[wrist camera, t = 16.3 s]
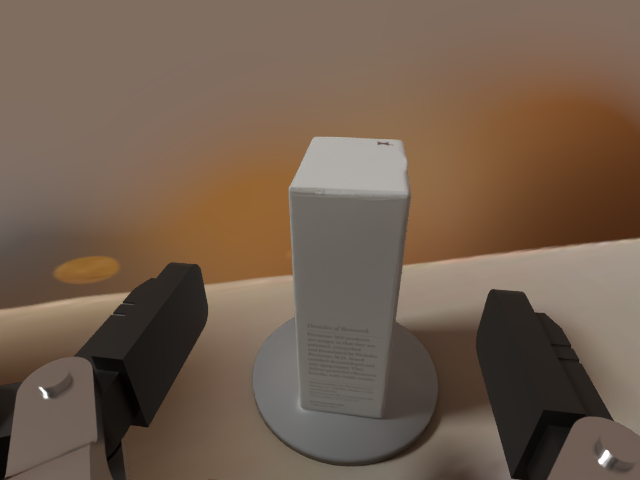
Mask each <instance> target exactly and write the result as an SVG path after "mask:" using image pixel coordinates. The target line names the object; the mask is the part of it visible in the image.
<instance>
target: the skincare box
mask: <svg viewBox="0 0 640 480" xmlns="http://www.w3.org/2000/svg"><path fill="white" fill-rule="evenodd" d="M410 199H411V192H410V185H409V178H408V161H407V158H406V155H405V150H404V145H403V142H402V141H400V140H388V139H366V138H344V137H314V138H313V140H312V142H311V144H310V146H309V148H308V150H307V152H306V154H305V156H304V158H303V161H302V163H301V165H300V168H299V169H298V172H297V174H296V176H295V178H294V180H293V182H292V184H291V185H290V187H289V203H290V204H289V206H290V225H291V244H292V266H293V285H294V305H295V324H296V341H297V360H298V379H299V395H300V407H301V408H302V409H304V410H311V411H320V412H329V413H338V414H346V415H354V416H362V417H370V418H379V419H381V418H382V417H383V415H384V409H385V401H386V392H387V384H388V376H389V368H390V360H391V352H392V344H393V336H394V329H395V321H396V313H397V305H398V297H399V289H400V282H401V274H402V265H403V257H404V248H405V240H406V232H407V223H408V215H409V207H410Z"/></svg>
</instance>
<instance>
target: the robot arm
mask: <svg viewBox="0 0 640 480" xmlns="http://www.w3.org/2000/svg"><path fill="white" fill-rule="evenodd" d="M207 316H208V304H207V299H206V293H205V288H204V283H203V278H202V273H201V269H200V267H199V266H198V265H197V264H186V263H173V262H172V263H169V264H168V265H167V266H166V267H165V269H164V270H163V271H162V272H161V273H160V274H159V276H158V277H157V278H156V279H155V278H151V279H149V280H147V281H146V282H144V283H143V284H141V285H140V286H138V287H137V288H135V289H134V290H133V291H132V292H131V293H130V294H129V295H128V296H127V298H126V299H125V300H124V301H123V304H120V305H119V307H118V308H117V309H116V310H115V311H114V312H113V315H111V316H110V317H109V318H108V319H107V320H106V321H105V322H104V323H103V325H102V326H101V327H100V328H99V329H98V330H97V331H96V332H95V334H94V335H93V336H92V337H91V338H90V339H89V340H88V341H87V343H86V344H85V345H84V346H83V347H82V348H81V349H80V350H79V352H78V353H77V354H76V355H75V356H74V357H66V358H61V359H57V360H55V361H52V362H49V363H47V364H45V365H43V366H42V367H40V368H38V369H37V370H36V371H34V372H33V373H32V374H30V375H29V376H28V377H27V378H26V379H25V380H24V381H23V382H20V383H14V384H7V385H1V386H0V480H130V473H129V466H128V458H127V451H126V443H125V440H124V435H125V433H126V432H127V430H128V428H129V427H130V425H134V426H142V427H149V425H150V423H151V421H152V420H153V418H154V416H155V414H156V412H157V411H158V409H159V407H160V405H161V403H162V402H163V400H164V398H165V396H166V395H167V393H168V391H169V389H170V387H171V386H172V384H173V382H174V380H175V378H176V377H177V375H178V373H179V371H180V370H181V368H182V366H183V364H184V362H185V361H186V359H187V357H188V355H189V354H190V352H191V350H192V348H193V346H194V345H195V343H196V341H197V339H198V337H199V336H200V334H201V332H202V330H203V329H204V327H205V324H206V321H207ZM476 349H477V355H478V359H479V363H480V367H481V370H482V374H483V377H484V381H485V385H486V388H487V392H488V396H489V399H490V403H491V406H492V410H493V414H494V417H495V421H496V425H497V428H498V432H499V435H500V439H501V443H502V446H503V450H504V454H505V457H506V461H507V464H508V468H509V472H510V475H511V478H512V479H519V480H640V436H638V435H637V434H636V433H634V432H633V431H632V430H630V429H628V428H627V427H625V426H623V425H621V424H619V423H617V422H614V420H613V419H612V417H611V415H610V413H609V412H608V410H607V408H606V406H605V405H604V403H603V401H602V399H601V398H600V396H599V394H598V392H597V390H596V389H595V387H594V385H593V383H592V382H591V380H590V378H589V376H588V374H587V373H586V371H585V369H584V367H583V366H582V364H580V363H579V358H578V357H577V355H576V353H575V351H574V350H573V349H571V344H570V343H569V341H568V339H567V337H566V335H565V334H564V332H563V330H562V328H560V327H559V326H558V325H557V324H556V323H555V322H554V321H553V320H552V319H550V318H549V317H548V316H547V315H546V314H545V313H535V312H534V310H533V308H532V306H531V304H530V302H529V300H528V299H527V297H526V295H525V293H524V292H520V291H508V290H495V289H492V290H490V292H489V294H488V297H487V300H486V304H485V307H484V311H483V314H482V318H481V321H480V325H479V328H478V332H477V339H476Z"/></svg>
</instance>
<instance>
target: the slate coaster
mask: <svg viewBox="0 0 640 480" xmlns="http://www.w3.org/2000/svg"><path fill="white" fill-rule="evenodd" d="M253 389H254V395H255V400H256V405H257V407H258V410H259V413H260V415H261V417H262V418H263V420H264V422H265V424H266V425H267V426H268V428H269V429H270V430H271V431H272V433H273V434H274V435H275V436H276V437H277V438H278V439H279V440H280V441H281V442H283V443H284V444H285V445H287V446H288V447H289V448H291V449H292V450H294V451H296V452H298V453H300V454H301V455H303V456H305V457H308V458H310V459H313V460H316V461H319V462H323V463H328V464H332V465H342V466H359V465H367V464H372V463H377V462H380V461H383V460H386V459H389V458H391V457H393V456H395V455H397V454H399V453H401V452H403V451H404V450H406V449H407V448H408V447H410V446H411V445H412V444H413V443H414V442H415V441H416V440H417V439H418V438H419V437H420V436H421V435H422V434H423V432H424V431H425V430H426V428H427V427H428V425H429V423H430V421H431V419H432V416H433V413H434V409H435V406H436V402H437V396H438V377H437V373H436V368H435V366H434V363H433V361H432V358H431V357H430V355H429V353H428V351H427V350H426V348H425V347H424V346H423V344H422V343H421V342H420V341H419V340H418V339H417V338H416V337H415V335H413V334H412V333H411V332H410V331H409V330H407V329H406V328H405V327H403V326H402V325H400V324H399V323H397V322H395V329H394V336H393V344H392V352H391V360H390V368H389V376H388V384H387V392H386V401H385V409H384V415H383V417H382V418H381V419H379V418H370V417H362V416H354V415H346V414H338V413H329V412H320V411H311V410H304V409H302V408H301V407H300V395H299V379H298V360H297V341H296V324H295V317H294V318H293V319H291V320H289V321H287V322H286V323H284V324H283V325H281V326H280V327H279V328H277V329H276V330H275V331H274V332H273V333H272V334H271V335H270V336H269V337H268V339H267V340H266V341H265V343H264V344H263V346H262V347H261V349H260V351H259V353H258V355H257V357H256V361H255V364H254V370H253Z"/></svg>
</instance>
